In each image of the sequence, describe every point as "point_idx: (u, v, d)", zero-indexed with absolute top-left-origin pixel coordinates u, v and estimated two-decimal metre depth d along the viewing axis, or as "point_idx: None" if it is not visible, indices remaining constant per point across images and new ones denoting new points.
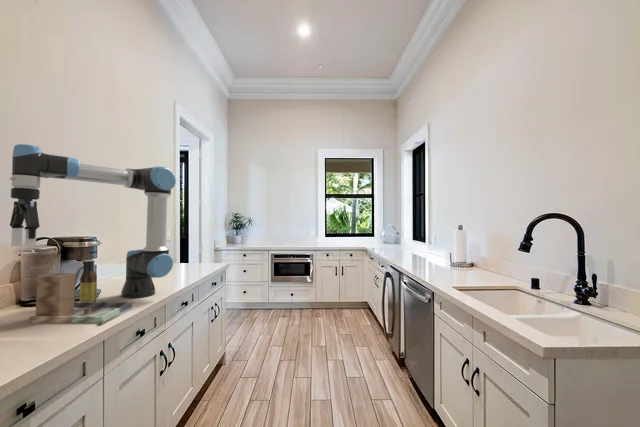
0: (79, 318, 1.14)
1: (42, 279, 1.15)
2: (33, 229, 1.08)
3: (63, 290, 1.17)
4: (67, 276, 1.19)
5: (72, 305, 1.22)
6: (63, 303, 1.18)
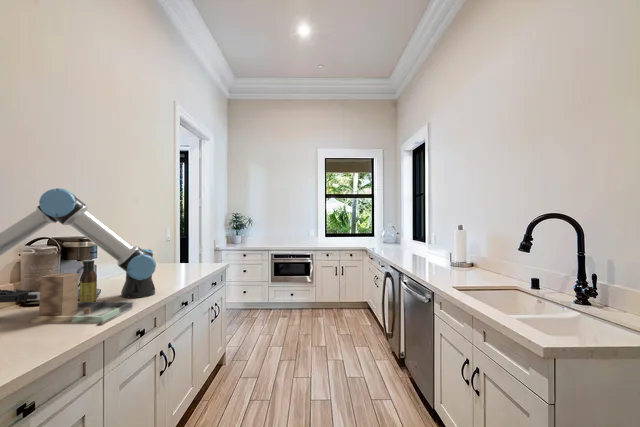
0: (79, 318, 1.14)
1: (45, 279, 1.15)
2: (24, 297, 1.17)
3: (66, 290, 1.17)
4: (70, 276, 1.19)
5: (75, 305, 1.22)
6: (67, 303, 1.18)
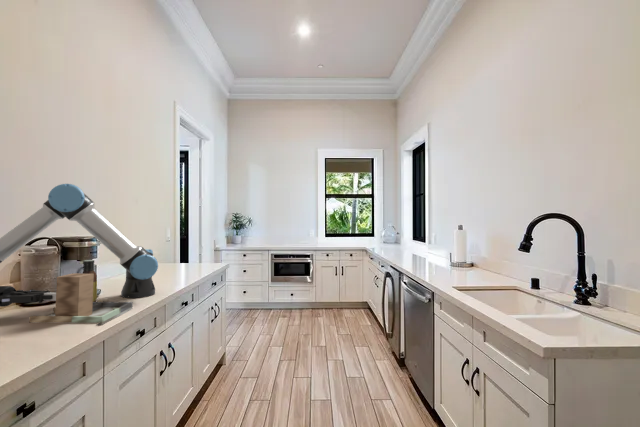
0: (79, 318, 1.14)
1: (61, 279, 1.16)
2: (40, 297, 1.17)
3: (82, 291, 1.18)
4: (86, 276, 1.20)
5: (90, 305, 1.23)
6: (82, 303, 1.18)
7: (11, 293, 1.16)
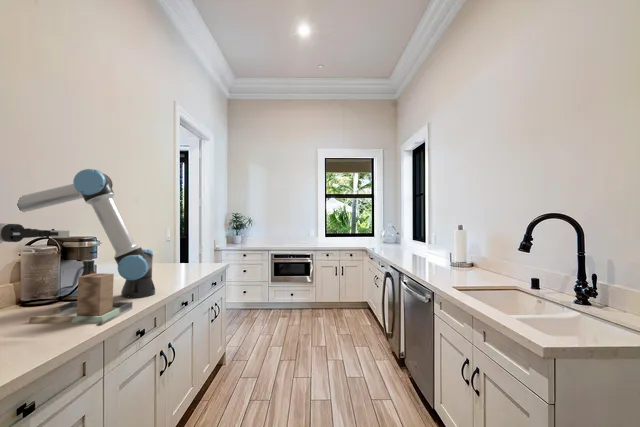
0: (79, 318, 1.14)
1: (83, 279, 1.16)
2: (47, 233, 1.29)
3: (103, 291, 1.18)
4: (106, 276, 1.20)
5: (110, 305, 1.23)
6: (103, 303, 1.19)
7: (21, 229, 1.28)
